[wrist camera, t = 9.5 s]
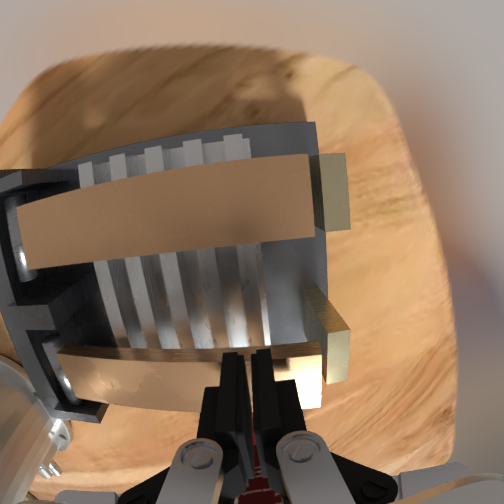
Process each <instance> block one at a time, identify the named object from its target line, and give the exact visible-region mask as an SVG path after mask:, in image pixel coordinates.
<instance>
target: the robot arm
mask: <svg viewBox="0 0 504 504" xmlns="http://www.w3.org/2000/svg"><path fill="white" fill-rule="evenodd" d="M251 375H252V402H253V422H252V405H251V399H250V393H249V386H248V380H247V374H246V367H245V361H244V355H238V352H225V353H223V355H222V364H221V373H220V383H219V386H213V387H205V389H204V394H203V400H202V407H201V413H200V419H199V425H198V432H197V438H196V439H192V440H189V441H187V442H185V443H183V444H182V445H181V446H180V447H179V448H178V450H177V452H176V454H175V456H174V459H173V461H172V464H171V466H170V467H168V468H166V469H165V470H163V471H161V472H160V473H158V474H156V475H154V476H153V477H151V478H149V479H147V480H146V481H144V482H142V483H140V484H138V485H136V486H135V487H133V488H131V489H129V490H127V491H125V492H124V493H123V494H116V493H115V492H91V491H75V490H64V491H62V492H60V493H59V494H58V495H57V496H56V497H55V500H54V501H48V500H27V501H24V499H25V497H26V495H27V493H28V490H29V488H30V486H31V484H32V482H33V480H34V478H35V476H36V474H37V472H38V473H39V474H40V475H41V476H42V477H43V478H50V477H51V476H52V475H55V476H59V475H61V473H62V470H61V468H60V467H59V466H58V465H57V463H56V462H54V461H53V457H54V455H55V453H56V451H63V450H66V449H67V448H68V447H69V445H70V443H71V441H72V437H73V432H72V427H71V425H70V422H69V421H68V420H62V419H57V418H52V417H51V416H50V415H49V413H48V411H47V410H46V408H45V406H44V405H43V403H42V401H41V400H40V398H39V396H38V394H37V392H36V391H35V389H34V387H33V385H32V383H31V381H30V379H29V377H28V375H27V373H26V371H25V369H24V368H23V367H21V366H20V365H19V364H17V363H15V362H14V361H12V360H10V359H9V358H6V357H4V356H2V355H0V504H238V496H239V495H240V494H241V493H243V492H244V491H245V490H246V487H248V486H249V479H254V478H255V473H254V448H253V425H254V434H255V440H256V446H257V451H258V456H259V462H260V467H261V472H262V477H263V478H268V483H269V488H270V489H272V490H274V491H275V492H277V493H279V494H280V495H281V499H282V503H283V504H504V476H503V475H500V474H479V475H472V476H471V473H470V471H469V469H468V467H466V466H465V465H464V464H462V463H458V462H454V463H448V464H444V465H439V466H435V467H430V468H425V469H420V470H414V471H408V472H401V473H400V474H399V475H397V476H390V475H388V474H386V473H383V472H380V471H377V470H374V469H372V468H369V467H366V466H364V465H361V464H358V463H356V462H353V461H351V460H348V459H346V458H343V457H341V456H339V455H336V454H334V453H332V452H330V451H329V449H328V447H327V445H326V443H325V441H324V440H323V439H322V437H321V436H319V435H318V434H316V433H313V432H310V431H307V429H306V425H305V421H304V416H303V412H302V407H301V403H300V399H299V394H298V390H297V386H296V382H295V379H289V380H281V381H275V377H274V370H273V363H272V356H271V349H270V348H267V349H258V350H256V354H251Z"/></svg>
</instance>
